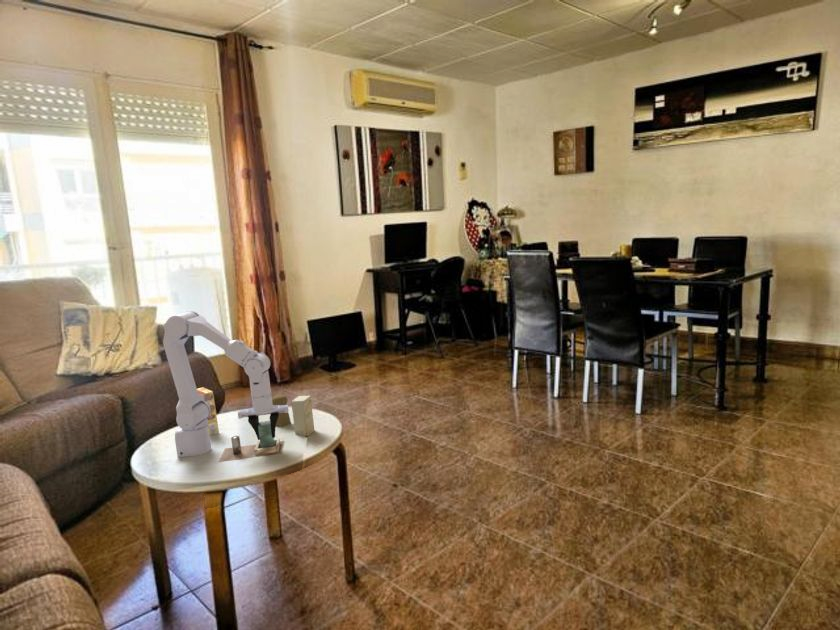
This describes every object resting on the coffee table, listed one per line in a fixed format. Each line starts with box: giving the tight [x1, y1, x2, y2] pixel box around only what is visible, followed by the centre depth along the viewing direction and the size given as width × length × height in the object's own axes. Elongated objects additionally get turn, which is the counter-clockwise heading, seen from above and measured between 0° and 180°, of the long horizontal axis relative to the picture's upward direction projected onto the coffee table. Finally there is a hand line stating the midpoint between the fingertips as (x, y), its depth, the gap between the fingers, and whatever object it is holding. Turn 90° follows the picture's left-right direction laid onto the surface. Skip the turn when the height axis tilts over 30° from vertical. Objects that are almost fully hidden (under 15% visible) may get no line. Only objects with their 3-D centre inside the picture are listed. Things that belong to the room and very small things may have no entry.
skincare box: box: [290, 395, 315, 438], centre depth 178 cm, size 6×4×12 cm
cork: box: [272, 394, 292, 428], centre depth 186 cm, size 6×6×11 cm
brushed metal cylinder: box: [230, 435, 242, 455], centre depth 163 cm, size 2×2×5 cm
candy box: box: [197, 387, 220, 436], centre depth 184 cm, size 9×4×15 cm, turn 44°
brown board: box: [218, 438, 285, 463], centre depth 164 cm, size 18×10×2 cm, turn 100°
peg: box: [258, 420, 275, 448], centre depth 164 cm, size 4×4×7 cm
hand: (266, 437), depth 164 cm, fingers closed on peg, 4 cm apart
